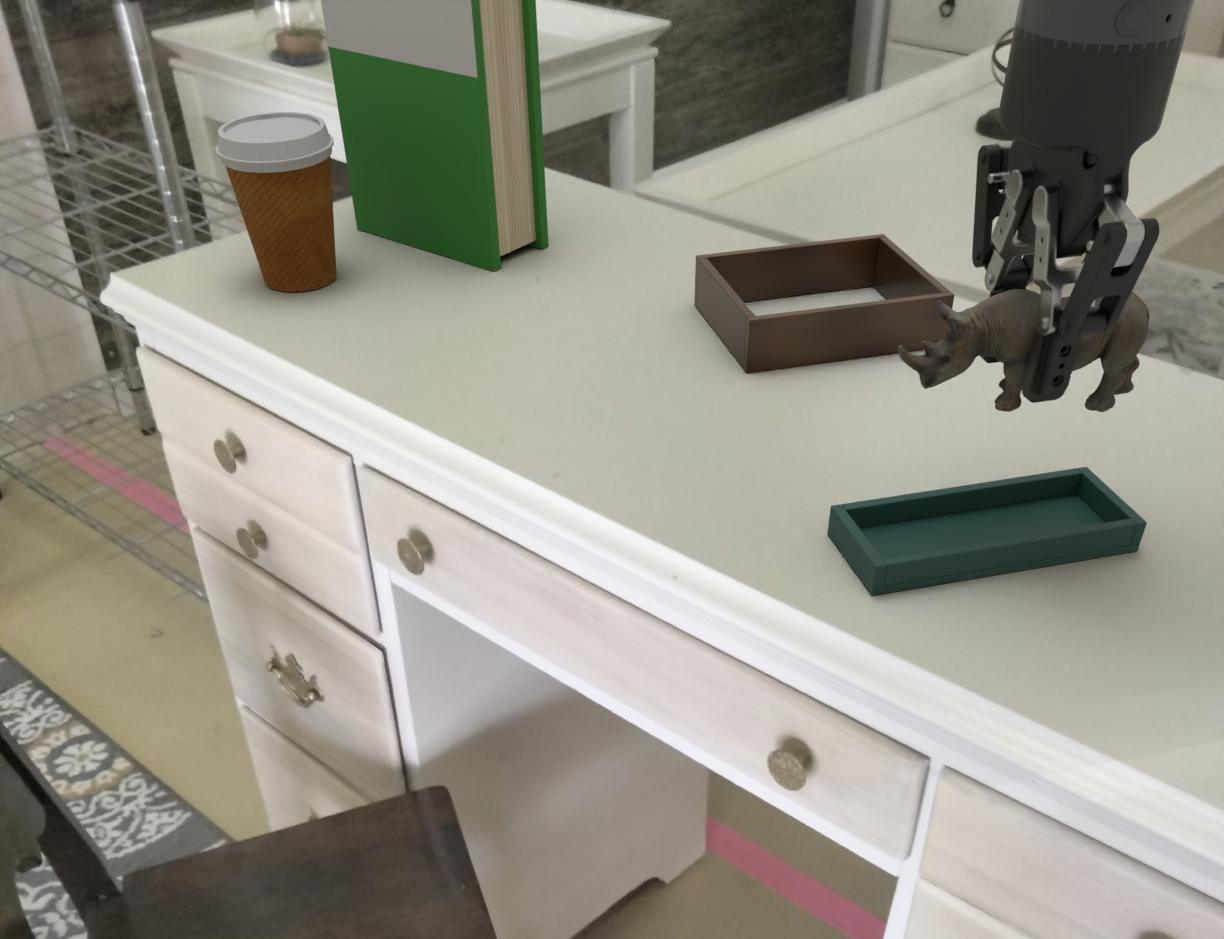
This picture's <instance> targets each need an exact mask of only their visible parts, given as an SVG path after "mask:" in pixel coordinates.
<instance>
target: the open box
mask: <svg viewBox="0 0 1224 939" xmlns="http://www.w3.org/2000/svg"><path fill="white" fill-rule="evenodd" d="M694 270H695V272H694V274H695V275H694V300H693V301H694V304H693V305H694V306H695V308H696V309H697V310H698V312H699V313H700V314H701V315H702V317H703V318H704V319H705V321H706V322H707V323H708V325H709V326H710V328H711V329H712V330H713V331H714V332H715V335H717V337H718V338H719V339H720V340H721V342H722V343H723V344H724V346H725V347H726V348H727V350H728V351H729V352H730V353H731V355H732V356H733V357H734V359H735V361H736V362H737V363H738V364H739V365H740V367H741V369H743V371H744V372H745V373H747V374H748V373H756V372H763V371H770V370H778V369H785V368H786V369H787V368H795V367H801V366H810V365H815V364H823V363H832V362H839V361H847V360H854V359H863V358H868V356H870V357H876V356H875V355H877V356H884V355H883V354H885V355H890V354H889V353H893V354H898V353H897V352H898V347H899V346H900V345H902V346H903V348H904V349H905V350H906V351H907V352H908V353H909V352H915V351H922V350H924V348H923V346H922V341H927V342H931V343H938V342H939V341H940V340H941V339H942V338H943V336H944V334H945V331H946V326H947V321H946V320H944V319H943V318H941V317H940V316H939V314H938V310H937V305H938V301H942V302H943V303H944V304H946V305H947V306H948V307H950V308H951V309H953V308H954V307H953V306H954V301H955V294H954V293H953V292H952V291H950V290H949V289H948V288H947V287H946V286H944V285H943V284H942V283H941V282H940V281H939V280H938V279H937V278H935V277H934V276H933V275H932V274H930V272H928V271H927V270H926V269H925V268H924V267H922V266H921V265H920V264H919V263H918V262H916V261H915V260H914V259H913V257H912V256H911V257H910V255H909V254H907V253H906V252H905V251H904V250H903V249H902V248H900V247H899V246H898V245H897V244H895V243H894V241H893V240H891V239H890V238H889V237H887V235H885V234H884V233H879V234H871V235H862V236H853V237H846V238H845V237H843V238H835V239H827V240H818V241H810V242H801V243H792V244H784V245H775V246H767V247H758V248H750V249H739V250H731V251H723V252H714V253H705V254H697V255H695V269H694ZM870 287H873V288H874V289H875V290H876V291H877V292H878V293H880V294H881V296H883V297H884V298H885V299H882V300H875V301H874V300H873V301H866V302H858V303H849V304H842V305H835V306H834V305H833V306H825V307H818V308H809V309H801V310H794V311H793V310H792V311H786V312H785V311H784V312H777V313H769V314H762V315H761V314H760V315H755V314H754V313H753V311H752V310H751V309H750V308H749V306H748V305H747V304H746V303H747V302H755V301H764V300H772V299H779V298H787V297H788V298H789V297H796V296H803V295H813V294H821V293H822V294H823V293H831V292H837V291H844V290H845V291H847V290H852V289H853V290H854V289H861V288H870ZM881 354H882V355H881Z"/></svg>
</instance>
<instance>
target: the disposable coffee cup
mask: <svg viewBox="0 0 1224 939" xmlns="http://www.w3.org/2000/svg"><path fill="white" fill-rule="evenodd" d="M334 145H335V140H334V137H333V136H332V135H331V133H329V130H328V128H327V125H326V123H325V120H324V119H323V118H322V117H320V116H317V115H315V114H310V113H307V112H306V113H305V112H301V111H300V112H298V111H269V112H262V113H255V114H249V115H244V116H242V117H241V116H240V117H237V118H235V119H232V120H229V121H226V122H225V123H223V124H221V126H219V127H218V130H217V144H216V146H215V153H216V156H217V157H218V158H220V161H221V164H222V165H224V166H225V169H226V172H227V176H228V179H229V180H230V181H229V182H230V184H231V186H232V189H233V193H234V196H235V199H236V201H237V204H238V207H239V210H240V213H241V216H242V219H243V223H244V225H245V228H246V231H247V234H248V237H249V241H250V243H251V246H252V248H253V252H254V254H255V257H256V260H257V263H258V266H259V269H260V272H261V275H262V278H263V281H264V284H265V286H266V287H268V288H270V289H271V290H276V291H280V292H287V293H291V292H297V293H298V292H308V291H313V290H318V289H320V288H322V287H326V286H328V285H330V284H331V283H332V282H334V281H335V280H336V278H337V276H338V273H337V272H338V271H337V256H336V237H335V220H334V218H335V217H334V201H333V199H334V198H333V196H334V195H333V183H332V182H333V180H332V161H331V155H332V154H333V147H334Z"/></svg>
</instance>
